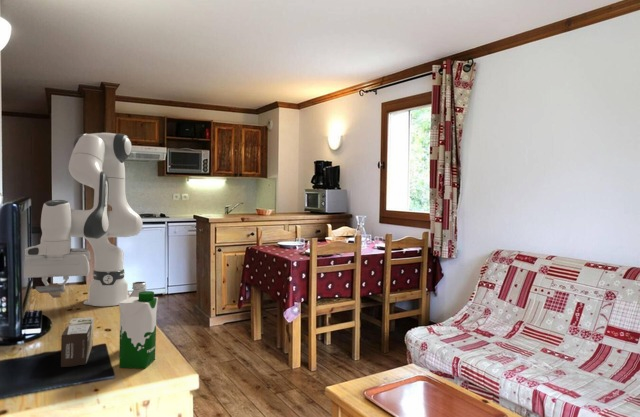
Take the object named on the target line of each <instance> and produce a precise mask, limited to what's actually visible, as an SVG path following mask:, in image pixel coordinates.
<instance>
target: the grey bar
mask: <svg viewBox="0 0 640 417" xmlns="http://www.w3.org/2000/svg"><path fill="white" fill-rule="evenodd" d="M48 284H49V286H46V285H44V286H35V290H36V291H37V292H38V293H39V294H48V295H49V296H51V297H52V298H53V299H54V298H62V295H63V293H65V291H66V288H65V289H64V288H63V287H62V286H59V285H60V283H58V282H55V283H54V282H53V283H48Z"/></svg>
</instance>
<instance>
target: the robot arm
mask: <svg viewBox="0 0 640 417" xmlns="http://www.w3.org/2000/svg"><path fill="white" fill-rule="evenodd" d="M72 143H73V145H72V146H73V147H72V148H73V150H72V152H71V155H70V158H69V161H68V171H69V173H70V176H71V177H72V178H73V179H74V180H75V181H76V182H78V183H79V184H82V185H85V186H87V187H90V188H92V189H93V190H94V196H93V207H92V208H91V209H73V208H71V204H70V202H69V200H64V199H54V200H52V199H51V200H48V201H45V202H44V203H43V205H42V209H41V217H40V229H41V237H40V243H39V244H34V245H32V246H29V247H26V248H25V249H24V250H25V255H24V256H25V266H24V278H23V279H25V278H26V279H27V278H28V279H29V278H41V281H42V283H43V284H44V286H49V284H50V283H49V282H48V279H49V278H55V277H57V278H58V277H60V278H61V277H63V278H62V280H64V281H63V282H62V283H59V286H62V287H63V288H64V289H65V290H66V284H67V282H68V280H69V278H70V277H84V276H85V277H86V276H88V275H89V274H90V268H91V267H90V262H89V261H91V257H92V256H91V253H92V252H91V251H90V250H89V249H87V248H85V247H84V248H83V247H81V248H77V247H76V248H72V238H73V237H74V238H84V239H85V240H86V241H88V243H89V244H90V246H91V249H92V251H93V259H94V270H93V272H92V276H93V278H92V279H93V280H92V281H91V282H90V283H89V286H88V298H87V299H85V300H83V305H88V306H93V307H114V306H119V302H121V301H123V300H126V299H128V298H129V296H130V294H128V293H129V290H128V289H129V288H128V284H129V283H128V282H127V281H126V280H125V279H124V278H125V269H124V252H123V249H122V248H120V247H119V246H116V245H114V244H112V243H111V242H110V240H109V238H130V237H135V236H138V235H139V234H140V233H141V231H142V230H143V222H144V221H143V219H142V217H141V216H140V215H139V214H138V213H137V212H136V211H134V210H133V209H132V207H131V206H130V204H129V203H128V200H127V194H126V168H125V162H126V160H127V159H128V158H129V157H130V156H131V154H132V149H133V148H132V146H133V145H132V141H131V138H129V136H128V135H126V134H123V133H119V132H118V133H112V132H95V133H82V134H78V135H77V136H76V137H75V138H74V140H73V142H72ZM109 206H110V207H111V210H109Z"/></svg>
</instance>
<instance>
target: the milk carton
mask: <svg viewBox="0 0 640 417" xmlns="http://www.w3.org/2000/svg"><path fill="white" fill-rule="evenodd" d="M158 301H159V297H155V292H154V291H151V290H150V291H149V290H147V291H146V290H145V291H143V292H139V297H130V298H128V299H126V300H123V301H121V302H119V305H118V307H119V346H118V348H119V349H118V350H119V355H118V356H119V357H118V360H119V361H118V363H119V365H118V366H119V368H120V369H122V368H123V369H143V370H145V369H147V367H149V366H150V364H152V363H153V362H154V361H155V360H156V346H157V345H156V344H157V343H156V342H157V340H156V339H157V310H158ZM119 368H118V369H119Z"/></svg>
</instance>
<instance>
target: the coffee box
mask: <svg viewBox="0 0 640 417" xmlns="http://www.w3.org/2000/svg"><path fill="white" fill-rule="evenodd" d="M94 320H95V319H94V317H92V316H91V317H80V318H79V317H77V318H76V317H75V318H71V319H70V321H69V322H68V324H67V325H66V327H65V329H64V331H63V332H62V334H61V339H60V340H61V342H60V343H61V345H60V346H61V350H60V367H61V368H67V367H76V366H85V365H86V364H87V363H88V360H89V357H90V353H91V352H92V347H93V346H94V323H95V321H94Z"/></svg>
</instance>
